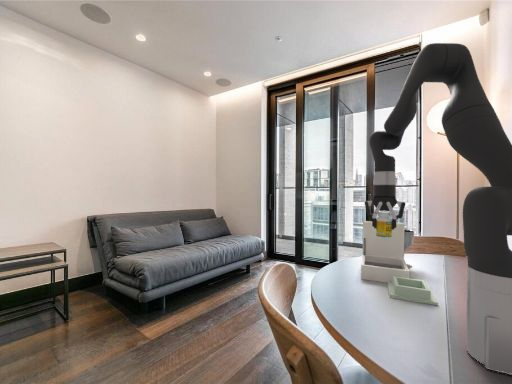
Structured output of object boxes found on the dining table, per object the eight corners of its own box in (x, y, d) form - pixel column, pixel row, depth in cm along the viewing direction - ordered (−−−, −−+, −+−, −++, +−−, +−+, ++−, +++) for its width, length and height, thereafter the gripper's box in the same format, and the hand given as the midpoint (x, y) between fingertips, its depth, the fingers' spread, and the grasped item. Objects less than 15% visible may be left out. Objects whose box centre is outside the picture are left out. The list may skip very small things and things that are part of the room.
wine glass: (387, 263, 108) (388, 229, 108) (399, 261, 111) (400, 228, 111) (405, 269, 101) (406, 232, 101) (417, 266, 104) (418, 231, 104)
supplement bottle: (380, 236, 98) (381, 211, 97) (394, 238, 93) (395, 212, 93) (373, 237, 95) (373, 212, 95) (386, 239, 90) (387, 213, 90)
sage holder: (438, 305, 70) (438, 293, 70) (389, 297, 75) (389, 286, 75) (429, 289, 80) (429, 279, 80) (387, 283, 86) (387, 274, 86)
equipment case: (409, 285, 84) (409, 229, 83) (360, 278, 90) (361, 226, 90) (403, 270, 99) (404, 223, 99) (362, 265, 106) (363, 221, 105)
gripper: (363, 183, 93) (362, 228, 93) (407, 183, 87) (407, 231, 87) (364, 184, 100) (363, 226, 100) (405, 184, 94) (404, 228, 94)
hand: (384, 228), depth 94 cm, fingers closed on supplement bottle, 5 cm apart
